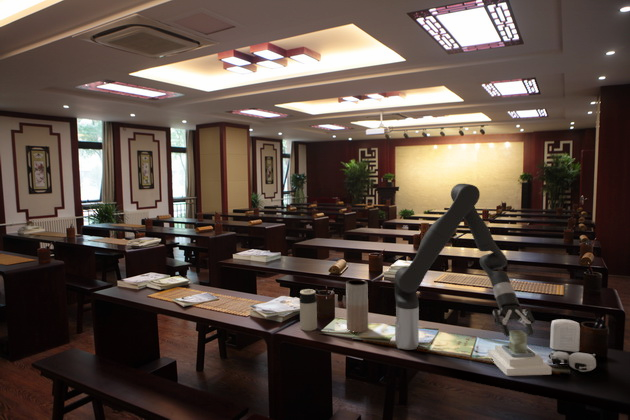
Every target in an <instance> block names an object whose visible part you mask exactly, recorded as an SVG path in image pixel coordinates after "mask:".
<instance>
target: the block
mask: <svg viewBox="0 0 630 420" xmlns="http://www.w3.org/2000/svg"><path fill="white" fill-rule="evenodd" d="M509 333H510V335H509V344H508V345H509V350H510V351H511V352H513V353H514V354H520V353H527V346H528V345H527V344H528V333H527V332H525V331H523V330H522V329H519V330H518V329H517V330H515V329H514V330H509Z"/></svg>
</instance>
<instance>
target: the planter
mask: <svg viewBox="0 0 630 420" xmlns="http://www.w3.org/2000/svg"><path fill="white" fill-rule="evenodd" d="M368 286H369V285H368V281H367V280H365V279H357V278H355V279H349V280H346V281H345V298H346V299H345V302H346V304H345V305H346V307H345V308H346V330H347V329H348V330H350V331H354V332H362V333H366V332H367V331H369V305H368V304H369V302H368V301H369V300H368V298H369V297H368V295H369V293H368V292H369V291H368ZM348 330H347V331H348ZM350 331H349V332H350ZM354 332H353V333H354Z"/></svg>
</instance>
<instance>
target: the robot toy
mask: <svg viewBox="0 0 630 420" xmlns="http://www.w3.org/2000/svg"><path fill="white" fill-rule="evenodd" d="M595 356H596V354H595V353H593V354H590V353H585V352H573V353H571V354H570V353H568V352H566V351H565V352H564V351H561V350H551V353H550V354H549V355H548V358H549V359H547V360H546V363H547V364H552V363H553V365H557V364H560V363H564V364H568V365H569V367H571V368H572V369H574V370H576V371H577V370H578V371H579V372H582V373H585V372H590V371H592V370H594V369H595V368H596V367H597V360H596V358H595Z"/></svg>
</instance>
